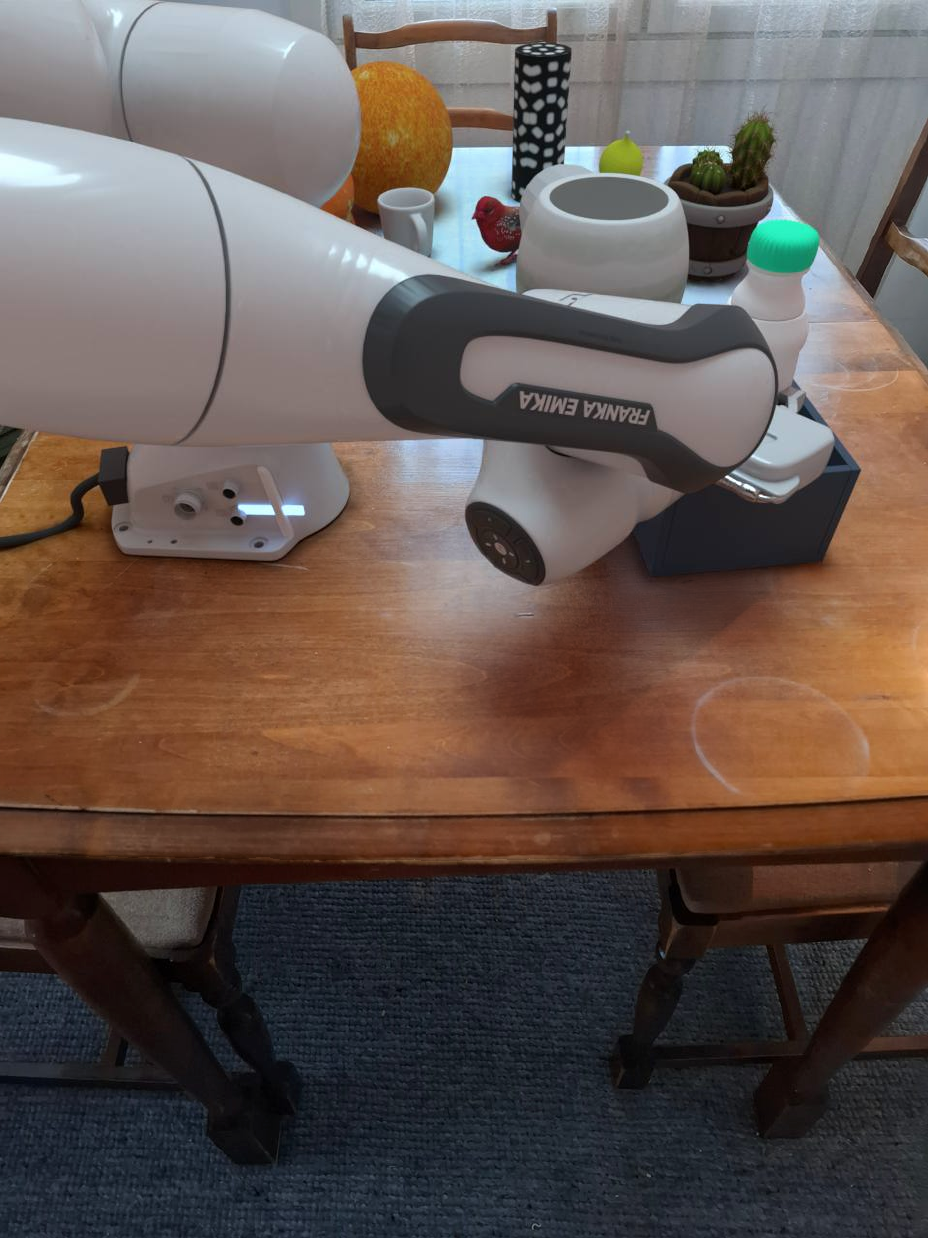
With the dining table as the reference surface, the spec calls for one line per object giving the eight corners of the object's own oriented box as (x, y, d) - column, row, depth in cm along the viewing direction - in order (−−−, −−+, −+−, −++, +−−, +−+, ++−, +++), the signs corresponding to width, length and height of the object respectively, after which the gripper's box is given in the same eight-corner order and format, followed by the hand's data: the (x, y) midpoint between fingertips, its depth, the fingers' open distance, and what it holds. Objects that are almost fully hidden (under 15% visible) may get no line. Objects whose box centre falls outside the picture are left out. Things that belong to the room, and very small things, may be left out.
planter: (489, 393, 91) (490, 179, 74) (615, 365, 94) (643, 156, 78) (549, 472, 80) (566, 245, 64) (688, 438, 84) (738, 214, 68)
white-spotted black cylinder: (504, 189, 134) (507, 45, 119) (550, 183, 135) (558, 40, 121) (521, 207, 128) (526, 58, 114) (569, 200, 130) (580, 53, 115)
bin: (650, 577, 70) (670, 485, 62) (609, 470, 80) (621, 381, 73) (822, 561, 71) (861, 469, 63) (759, 458, 81) (786, 368, 74)
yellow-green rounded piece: (620, 199, 130) (628, 129, 123) (588, 187, 134) (594, 119, 126) (648, 187, 133) (658, 119, 126) (615, 177, 137) (623, 110, 129)
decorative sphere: (339, 188, 135) (322, 46, 121) (457, 188, 135) (454, 44, 120) (320, 236, 122) (298, 82, 107) (451, 235, 121) (447, 80, 106)
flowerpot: (644, 287, 108) (669, 118, 93) (653, 241, 118) (677, 83, 103) (755, 297, 106) (799, 125, 91) (754, 249, 116) (794, 88, 101)
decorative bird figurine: (465, 274, 112) (463, 198, 105) (553, 238, 120) (557, 165, 112) (479, 280, 110) (478, 204, 103) (567, 244, 118) (572, 170, 111)
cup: (452, 269, 113) (450, 209, 107) (398, 279, 111) (394, 219, 105) (426, 241, 120) (423, 183, 114) (375, 250, 118) (369, 192, 112)
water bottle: (751, 535, 72) (846, 252, 54) (671, 525, 73) (737, 244, 55) (748, 487, 76) (834, 212, 58) (674, 479, 77) (735, 206, 59)
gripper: (786, 472, 52) (886, 390, 58) (549, 360, 62) (657, 301, 68) (761, 545, 56) (856, 462, 63) (544, 429, 66) (645, 368, 73)
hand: (750, 377), depth 66 cm, fingers closed on water bottle, 7 cm apart
